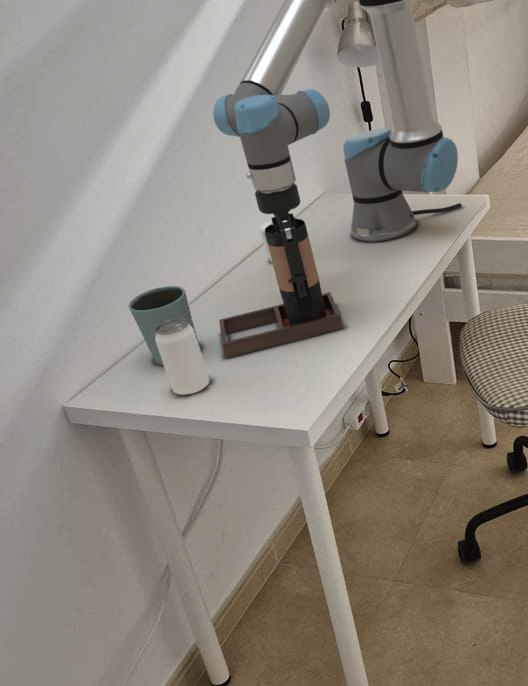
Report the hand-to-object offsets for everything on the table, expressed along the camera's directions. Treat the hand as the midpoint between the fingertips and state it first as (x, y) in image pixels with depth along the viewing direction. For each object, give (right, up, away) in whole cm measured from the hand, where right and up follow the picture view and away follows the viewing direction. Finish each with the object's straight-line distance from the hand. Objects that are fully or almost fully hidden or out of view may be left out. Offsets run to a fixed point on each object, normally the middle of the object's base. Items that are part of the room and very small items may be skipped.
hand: (303, 301), depth 166 cm
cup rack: (-4, -6, +1) cm, 7 cm away
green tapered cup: (-24, -10, -1) cm, 26 cm away
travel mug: (+1, -4, +2) cm, 5 cm away
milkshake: (-12, +12, +34) cm, 38 cm away
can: (-17, -16, -13) cm, 27 cm away
